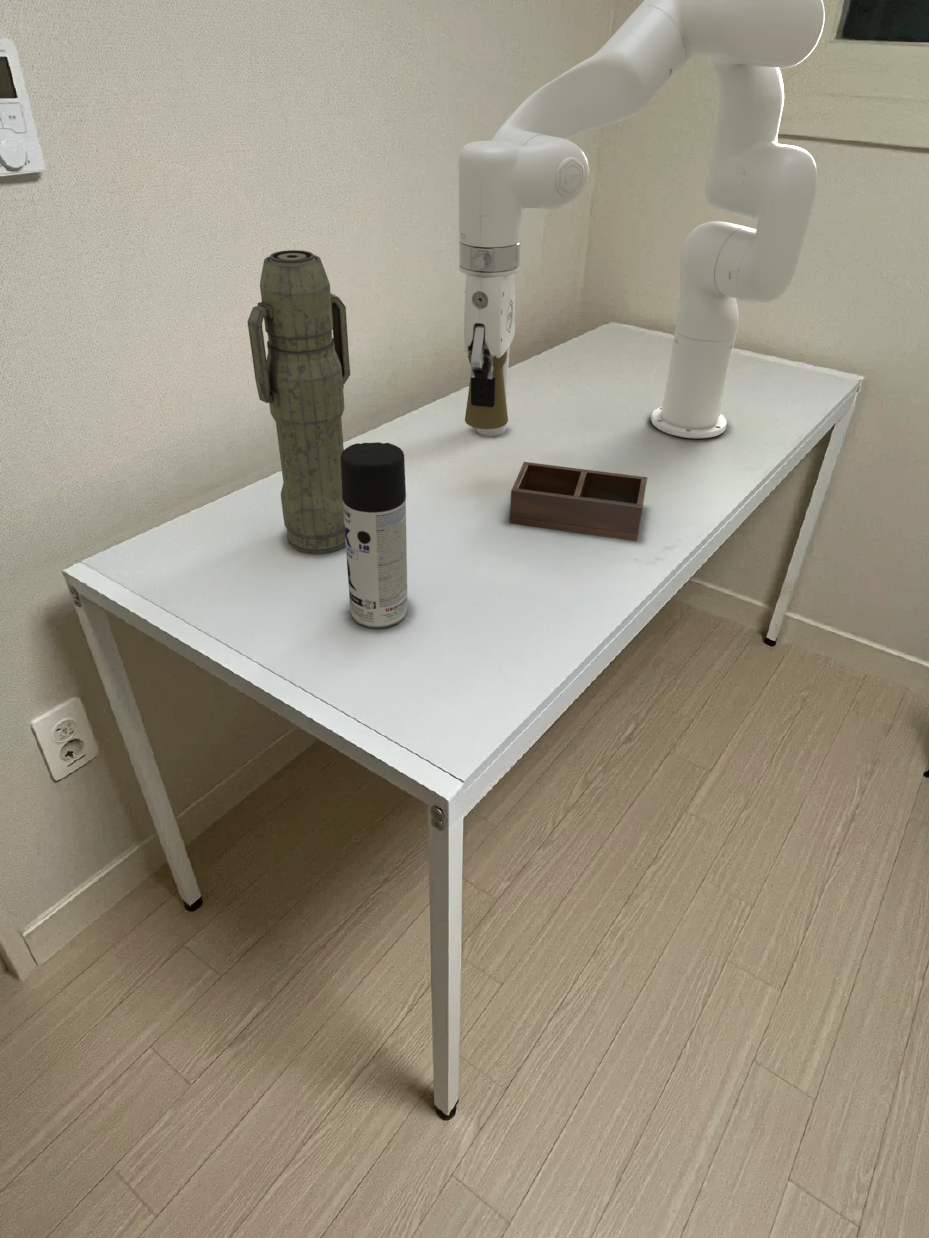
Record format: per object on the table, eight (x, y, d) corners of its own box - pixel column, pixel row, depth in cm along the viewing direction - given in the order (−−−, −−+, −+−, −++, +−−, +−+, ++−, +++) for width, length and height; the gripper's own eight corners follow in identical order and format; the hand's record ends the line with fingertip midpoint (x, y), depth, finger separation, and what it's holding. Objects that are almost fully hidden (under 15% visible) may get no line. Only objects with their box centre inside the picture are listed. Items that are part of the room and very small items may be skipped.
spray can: (351, 596, 98) (339, 440, 86) (408, 594, 99) (404, 439, 87) (349, 630, 93) (336, 468, 81) (410, 628, 94) (405, 467, 82)
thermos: (376, 531, 111) (361, 253, 90) (307, 566, 103) (273, 272, 83) (332, 509, 115) (308, 240, 94) (264, 541, 108) (221, 257, 87)
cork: (513, 414, 116) (516, 336, 110) (500, 431, 112) (502, 351, 105) (472, 409, 118) (473, 331, 111) (458, 425, 113) (458, 346, 107)
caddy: (521, 493, 120) (523, 461, 117) (642, 509, 117) (647, 477, 114) (509, 523, 113) (511, 490, 110) (637, 541, 110) (642, 507, 107)
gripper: (504, 277, 95) (500, 426, 106) (531, 243, 108) (525, 379, 119) (441, 272, 96) (444, 420, 107) (475, 239, 109) (474, 374, 120)
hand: (486, 397), depth 113 cm, fingers closed on cork, 4 cm apart
